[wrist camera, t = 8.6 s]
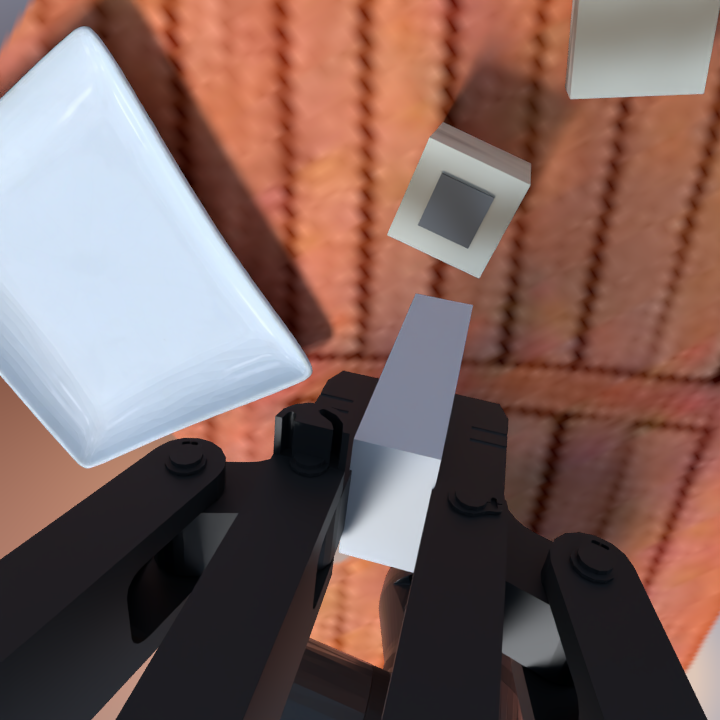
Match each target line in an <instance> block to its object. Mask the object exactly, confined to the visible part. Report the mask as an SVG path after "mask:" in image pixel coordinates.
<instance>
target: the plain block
mask: <svg viewBox="0 0 720 720" xmlns="http://www.w3.org/2000/svg"><path fill="white" fill-rule="evenodd" d="M719 9H720V0H573V2H572V14H571V25H570V37H569V48H568V60H567V72H566V83H565V88H566V91H567V93H568V95H569V98H570V99H588V98H612V97H636V96H661V95H685V94H704V90H705V85H706V79H707V74H708V68H709V63H710V58H711V52H712V47H713V41H714V36H715V31H716V25H717V20H718V14H719Z"/></svg>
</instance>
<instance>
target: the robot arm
mask: <svg viewBox="0 0 720 720" xmlns="http://www.w3.org/2000/svg"><path fill="white" fill-rule="evenodd" d="M472 308H473V305H470V304H465V303H460V302H455V301H450V300H445V299H440V298H435V297H430V296H425V295H420V294H415V297H414V299H413V301H412V304H411V306H410V308H409V311H408V313H407V315H406V318H405V320H404V322H403V325H402V327H401V329H400V332H399V334H398V336H397V339H396V341H395V344H394V346H393V348H392V351H391V353H390V355H389V358H388V360H387V362H386V365H385V367H384V369H383V372H382V374H381V376H380V379H378V378H373V377H369V376H365V375H360V374H356V373H351V372H347V371H342V372H341V373H339V374H337V375H336V376H334V377H332V378H331V379H329V380H328V381H327V383H326V385H325V387H324V388H323V390H322V392H321V395H319V397H318V399H317V401H316V402H315V403H303V404H295V405H292V406H290V407H287V408H285V409H283V410H282V411H281V412H280V413H278V414H277V415H276V416H275V435H274V454H273V456H272V457H271V459H268V460H264V461H260V462H226V457H225V455H224V453H223V451H222V450H221V448H219V447H218V446H217V445H215V444H214V443H212V442H210V441H206V440H203V439H199V438H182V439H177V440H172V441H169V442H167V443H165V444H163V445H161V446H159V447H157V448H155V449H154V450H153V451H151V452H150V453H148V454H147V455H146V456H145V457H143V458H142V459H140V460H139V461H137V462H136V463H135V464H133V465H132V466H130V467H129V468H128V469H126V470H125V471H123V472H122V473H121V474H119V475H118V476H116V477H115V478H114V479H112V480H111V481H109V482H108V483H107V484H106V485H104V486H102V487H101V488H100V489H98V490H97V491H96V492H94V493H93V494H91V495H90V496H89V497H87V498H86V499H84V500H83V501H81V502H80V503H79V504H77V505H76V506H75V507H73V508H72V509H70V510H69V511H68V512H66V513H65V514H63V515H62V516H61V517H59V518H58V519H57V520H55V521H54V522H52V523H51V524H49V525H48V526H47V527H45V528H44V529H42V530H41V531H40V532H38V533H37V534H35V535H34V536H33V537H31V538H30V539H29V540H27V541H26V542H24V543H23V544H21V545H20V546H19V547H18V548H16V549H14V550H13V551H12V552H10V553H9V554H8V555H6V556H5V557H3V558H2V559H1V560H0V720H91V719H92V718H93V717H94V716H95V715H96V714H97V713H98V712H99V711H100V710H101V709H102V708H103V707H104V705H105V704H106V703H107V702H108V701H109V700H110V699H111V698H112V697H113V696H114V694H116V692H117V691H118V690H119V689H120V688H121V687H122V686H123V685H124V684H125V683H126V682H127V681H128V679H129V678H130V677H131V676H132V675H133V674H134V673H135V672H136V671H137V670H138V669H139V668H140V667H141V666H142V664H143V663H144V662H145V661H146V660H147V659H148V658H149V657H150V656H151V655H152V654H153V653H154V652H155V650H156V649H157V648H158V647H159V648H158V649H157V651H156V653H155V654H154V656H153V658H152V659H151V661H150V663H149V664H148V666H147V668H146V669H145V671H144V673H143V674H142V676H141V678H140V679H139V681H138V683H137V685H136V686H135V688H134V690H133V691H132V693H131V695H130V696H129V698H128V700H127V701H126V703H125V705H124V706H123V708H122V710H121V711H120V713H119V715H118V717H117V718H116V720H707V718H706V716H705V714H704V711H703V709H702V707H701V705H700V703H699V701H698V699H697V697H696V695H695V693H694V691H693V689H692V687H691V684H690V682H689V680H688V679H687V676H686V674H685V672H684V670H683V668H682V666H681V664H680V662H679V659H678V657H677V655H676V653H675V651H674V649H673V647H672V645H671V643H670V641H669V639H668V637H667V635H666V632H665V630H664V628H663V626H662V624H661V622H660V620H659V618H658V616H657V614H656V612H655V610H654V608H653V605H652V603H651V601H650V599H649V597H648V595H647V593H646V591H645V589H644V587H643V585H642V583H641V581H640V578H639V576H638V574H637V572H636V570H635V568H634V566H633V565H632V564H631V562H630V561H629V559H628V558H627V557H626V555H625V554H624V553H622V552H621V551H620V550H619V549H618V548H616V547H615V546H614V545H613V544H611V543H609V542H607V541H605V540H603V539H601V538H599V537H597V536H594V535H589V534H585V533H580V532H577V533H565V534H563V535H561V536H560V537H558V538H556V539H555V540H554V542H552V541H550V540H548V539H546V538H544V537H542V536H540V535H538V534H536V533H534V532H532V531H531V530H529V529H528V528H526V527H524V526H523V525H522V524H521V523H520V522H519V521H517V520H516V519H515V518H514V516H513V515H512V514H511V513H510V511H509V510H508V506H507V502H506V500H505V498H504V485H505V468H506V447H507V433H508V418H507V416H506V415H505V413H504V411H503V409H502V408H501V406H500V404H497V403H492V402H488V401H483V400H479V399H474V398H470V397H466V396H461V395H457V394H455V390H456V386H457V381H458V376H459V371H460V366H461V361H462V356H463V352H464V347H465V342H466V337H467V332H468V327H469V322H470V318H471V313H472ZM339 541H340V546H339V553H342V554H346V555H350V556H353V557H357V558H361V559H364V560H368V561H372V562H375V563H379V564H383V565H387V566H390V567H391V569H390V570H389V572H388V573H387V575H386V578H385V581H384V585H383V588H382V592H381V596H380V601H379V617H380V626H381V635H382V644H383V654H384V668H383V669H381V668H378V667H376V666H374V665H372V664H370V663H368V662H365V661H363V660H360V659H358V658H356V657H353V656H351V655H349V654H346V653H344V652H342V651H339V650H337V649H335V648H332V647H330V646H328V645H325V644H323V643H320V642H318V641H316V640H313V639H311V638H309V637H310V634H311V631H312V629H313V626H314V623H315V620H316V617H317V615H318V612H319V609H320V606H321V603H322V601H323V598H324V595H325V592H326V589H327V587H328V584H329V581H330V578H331V575H332V568H333V561H334V555H335V552H336V549H337V547H338V544H339Z"/></svg>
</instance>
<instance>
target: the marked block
mask: <svg viewBox="0 0 720 720" xmlns="http://www.w3.org/2000/svg"><path fill="white" fill-rule="evenodd" d="M530 185H531V163H529V162H527V161H525V160H523V159H520V158H518V157H516V156H514V155H512V154H510V153H508V152H506V151H503V150H501V149H499V148H497V147H495V146H493V145H491V144H489V143H486V142H484V141H482V140H480V139H478V138H476V137H474V136H472V135H469V134H467V133H465V132H463V131H461V130H459V129H457V128H455V127H452V126H450V125H448V124H446V123H444V122H443V123H442V124H441V125H440V126H439V127H438V129H437V130H436V131H435V132H434V133H433V134H432V135H431V136H430V138H429V140H428V142H427V145H426V147H425V149H424V151H423V154H422V156H421V158H420V161H419V163H418V165H417V168H416V170H415V172H414V174H413V177H412V179H411V181H410V184H409V186H408V188H407V191H406V193H405V195H404V197H403V200H402V202H401V204H400V207H399V209H398V211H397V213H396V216H395V218H394V220H393V223H392V225H391V227H390V230H389V232H388V234H387V235H388V236H390V237H392V238H395V239H397V240H399V241H401V242H403V243H405V244H407V245H409V246H411V247H414V248H416V249H418V250H420V251H422V252H424V253H426V254H428V255H430V256H432V257H435V258H437V259H439V260H441V261H443V262H445V263H447V264H449V265H451V266H454V267H456V268H458V269H460V270H462V271H464V272H466V273H468V274H470V275H472V276H475V277H477V278H480V276H481V274H482V272H483V271H484V269H485V267H486V265H487V263H488V261H489V260H490V258H491V256H492V254H493V252H494V251H495V249H496V247H497V245H498V243H499V241H500V240H501V238H502V236H503V234H504V232H505V231H506V229H507V227H508V225H509V223H510V221H511V220H512V218H513V216H514V214H515V212H516V211H517V209H518V207H519V205H520V203H521V201H522V200H523V198H524V196H525V194H526V192H527V191H528V189H529V187H530Z"/></svg>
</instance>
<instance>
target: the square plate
mask: <svg viewBox="0 0 720 720" xmlns="http://www.w3.org/2000/svg"><path fill="white" fill-rule="evenodd" d="M311 373H312V366H311V364H310V362H309V360H308V358H307V356H306V354H305V353H304V351H303V350H302V348H301V346H300V345H299V344H298V342H297V340H296V339H295V338H294V336H293V335H292V333H291V332H290V331H289V329H288V328H287V326H286V325H285V324H284V322H283V321H282V319H281V318H280V317H279V315H278V314H277V313H276V312H275V310H274V309H273V307H272V306H271V305H270V303H269V302H268V300H267V299H266V298H265V296H264V295H263V293H262V292H261V291H260V289H259V288H258V287H257V285H256V284H255V283H254V281H253V280H252V278H251V277H250V275H249V274H248V272H247V271H246V270H245V268H244V267H243V266H242V264H241V262H240V261H239V260H238V258H237V257H236V256H235V254H234V253H233V251H232V250H231V248H230V247H229V245H228V244H227V243H226V241H225V239H224V238H223V236H222V235H221V233H220V232H219V231H218V229H217V227H216V226H215V224H214V222H213V221H212V219H211V218H210V216H209V214H208V213H207V211H206V210H205V208H204V207H203V205H202V203H201V202H200V200H199V199H198V197H197V196H196V194H195V192H194V191H193V189H192V187H191V186H190V184H189V183H188V181H187V179H186V178H185V176H184V174H183V173H182V171H181V170H180V168H179V166H178V164H177V163H176V161H175V159H174V158H173V156H172V154H171V153H170V151H169V149H168V148H167V146H166V144H165V143H164V141H163V139H162V138H161V136H160V134H159V132H158V130H157V129H156V127H155V125H154V124H153V122H152V120H151V119H150V118H149V116H148V114H147V112H146V110H145V109H144V107H143V105H142V104H141V102H140V101H139V99H138V97H137V95H136V94H135V92H134V90H133V88H132V87H131V85H130V83H129V82H128V80H127V79H126V77H125V75H124V73H123V71H122V70H121V68H120V67H119V65H118V64H117V62H116V61H115V59H114V58H113V56H112V55H111V53H110V52H109V50H108V49H107V47H106V46H105V44H104V43H103V41H102V40H101V39H100V37H99V36H98V35H97V34H96V33H95V32H94V31H93V30H92V29H91V28H90V27H86V26H82V27H79V28H77V29H75V30H74V31H73V32H71V33H70V34H69V35H68V36H67V37H65V38H64V39H63V40H62V41H61V42H60V43H59V44H57V45H56V46H55V47H54V48H53V49H52V50H51V51H50V52H49V53H48V54H46V55H45V56H44V57H43V58H42V59H41V60H40V61H39V62H38V63H37V64H36V65H35V66H34V67H33V68H32V69H31V70H30V71H29V72H28V73H27V74H25V75H24V76H23V77H22V78H21V79H20V80H19V81H18V82H17V83H16V84H15V85H14V86H13V87H12V88H11V89H10V90H9V91H8V92H7V93H6V94H5V95H4V96H3V97H2V98H1V99H0V376H1V377H2V378H3V379H4V380H5V381H6V382H7V384H8V385H9V386H10V387H11V388H12V389H13V390H14V392H15V393H16V394H17V395H18V396H19V398H20V399H21V400H22V401H23V402H24V403H25V404H26V406H27V407H28V408H29V409H30V410H31V411H32V413H33V414H34V415H35V416H36V417H37V418H38V420H39V421H40V422H41V423H42V424H43V425H44V426H45V427H46V429H47V430H48V431H49V432H50V433H51V434H52V435H53V436H54V438H55V439H56V440H57V441H58V442H59V443H60V444H61V445H62V447H64V449H65V450H66V451H67V452H68V453H69V454H70V455H71V456H72V457H73V458H74V460H75V461H76V462H77V463H78V464H79V465H81V466H82V467H84V468H91V467H94V466H97V465H100V464H102V463H105V462H107V461H109V460H112V459H114V458H117V457H119V456H121V455H123V454H125V453H128V452H130V451H132V450H134V449H137V448H139V447H141V446H143V445H145V444H147V443H150V442H152V441H155V440H157V439H159V438H162V437H164V436H167V435H169V434H171V433H174V432H176V431H179V430H181V429H184V428H186V427H188V426H191V425H193V424H196V423H198V422H201V421H204V420H206V419H209V418H211V417H214V416H216V415H219V414H221V413H224V412H227V411H229V410H232V409H234V408H237V407H240V406H242V405H245V404H248V403H250V402H253V401H256V400H258V399H260V398H263V397H266V396H268V395H271V394H273V393H276V392H279V391H281V390H283V389H286V388H288V387H290V386H293V385H295V384H298V383H300V382H302V381H304V380H306V379H307V378H308V377H310V375H311Z"/></svg>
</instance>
